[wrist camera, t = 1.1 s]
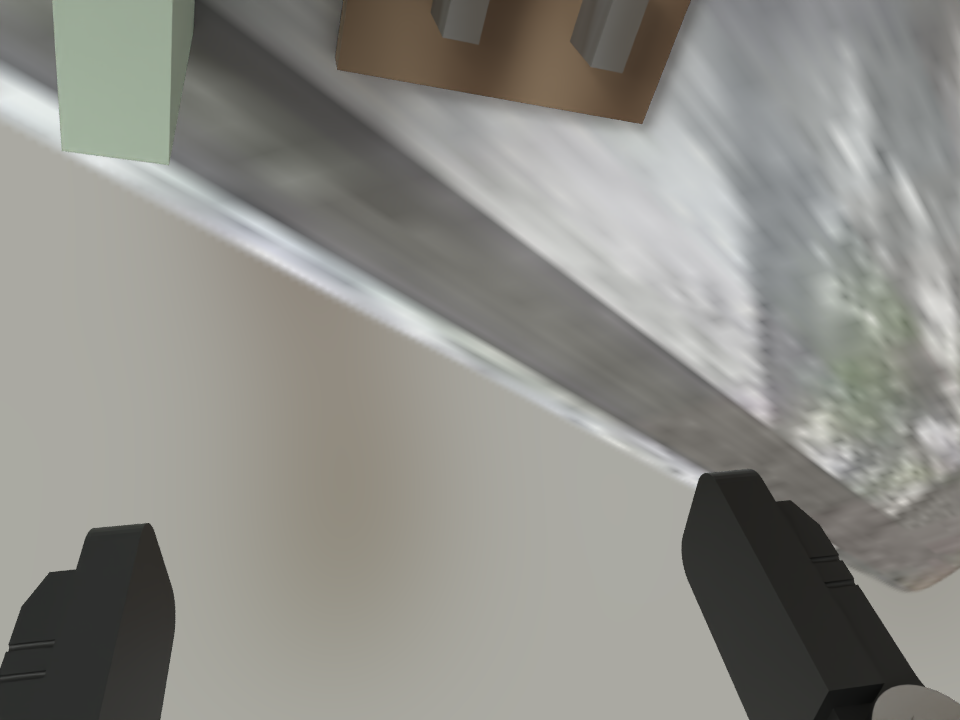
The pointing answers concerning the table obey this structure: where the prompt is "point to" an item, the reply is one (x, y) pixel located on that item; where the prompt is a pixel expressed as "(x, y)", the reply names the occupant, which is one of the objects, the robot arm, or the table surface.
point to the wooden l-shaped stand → (518, 49)
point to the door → (121, 75)
